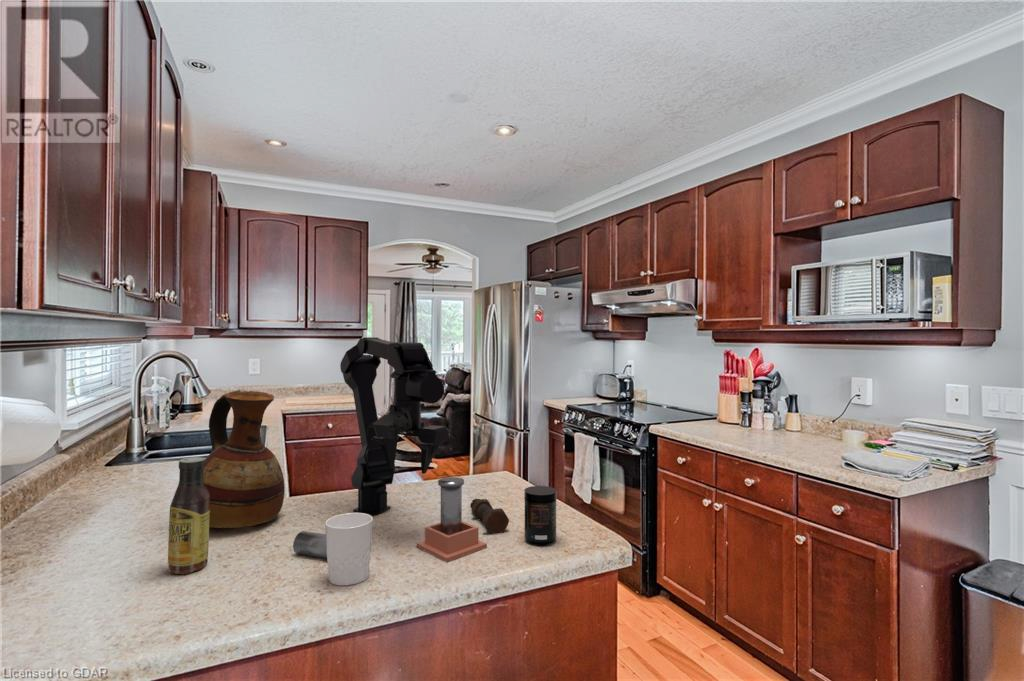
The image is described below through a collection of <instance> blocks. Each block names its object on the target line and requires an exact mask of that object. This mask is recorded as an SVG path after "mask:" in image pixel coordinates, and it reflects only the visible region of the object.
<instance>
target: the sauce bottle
mask: <svg viewBox="0 0 1024 681" xmlns="http://www.w3.org/2000/svg"><path fill="white" fill-rule="evenodd" d="M205 459H206V458H204V457H200V456H195V457H194V456H193V457H185V458H181V459H180V460H178V470H179V478H178V484H177V487H176V490H175V492H174V495H173V497H172V499H171V502H170V506H169V515H168V516H169V521H168V549H167V563H168V564H167V565H168V567H167V568H168V571H169V572H170V574H174V575H175V574H176V575H186V574H187V575H188V574H191V573H194V572H197V571H199V570H202V569H203V568H204V567H206V565H207V564H208V557H209V543H210V542H209V541H210V540H209V539H210V527H209V520H210V508H209V502H210V494H209V492H208V490H207V489H206V488H205V486H204V483H203V481H204V479H203V468H204V466H205Z"/></svg>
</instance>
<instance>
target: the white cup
mask: <svg viewBox="0 0 1024 681" xmlns="http://www.w3.org/2000/svg"><path fill="white" fill-rule="evenodd" d="M373 519H374V518H373V516H371V515H368V514H365V513H357V512H346V513H341V514H337V515H336V514H335V515H334V516H331V517H330V518H328V519H326V521H325V534H326V549H327V559H326V561H327V568H328V569H327V570H328V572H327V575H328V581H329V582H330V583H331V584H333V585H335V586H352V585H357V584H359V583H361V582H364V581H365V580H366V579H368V577H369V574H370V562H371V555H372V554H371V553H372V538H373V536H372V535H373V521H374V520H373Z"/></svg>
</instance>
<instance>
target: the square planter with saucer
mask: <svg viewBox="0 0 1024 681" xmlns="http://www.w3.org/2000/svg"><path fill="white" fill-rule="evenodd" d="M487 545H488V543H486V542H485V541H482V540H479V526H475V525H473V524H470V523H468V522H465V521H463V520H462V531H461V532H458V533H455V534H452V535H446V534H444V533H442V532H441V522H437V523H434V524H431V525H428V526H425V527H424V540H422V541H418V542H416V546H417V547H418V549H419V548H420V550H421V549H422V550H421V551H423V550H425V551H426V553H427V552H428V553H427V554H429V553H430V554H429V555H431V554H432V556H433V555H434V556H433V557H435V556H436V557H435V558H437V557H438V558H437V559H439V558H440V559H439V560H441V559H442V560H441V561H443V560H444V561H443V562H445V561H446V562H445V563H449V562H452V561H454V559H455V560H457V559H460V558H462V557H466V556H467V555H470V554H472V553H475V552H479V551H481V550H483V549H484V550H485V549H487V548H488V546H487ZM416 546H415V547H416ZM417 547H416V548H417ZM425 551H424V552H425ZM451 560H452V561H451Z"/></svg>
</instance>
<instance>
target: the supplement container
mask: <svg viewBox="0 0 1024 681" xmlns="http://www.w3.org/2000/svg"><path fill="white" fill-rule="evenodd" d="M557 492H558V490H557V489H556V488H554V487H552V486H546V485H534V486H528V487H526V488H525V489H524V497H523V499H524V523H523V524H524V529H523V530H524V535H523V536H524V540H525V541H526V542H527V543H528V544H530V545H533V546H538V547H539V546H540V547H541V546H543V547H544V546H549V545H550V546H551V545H552V544H554V543H555V541H556V540H557V498H558V497H557V494H558V493H557Z"/></svg>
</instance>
